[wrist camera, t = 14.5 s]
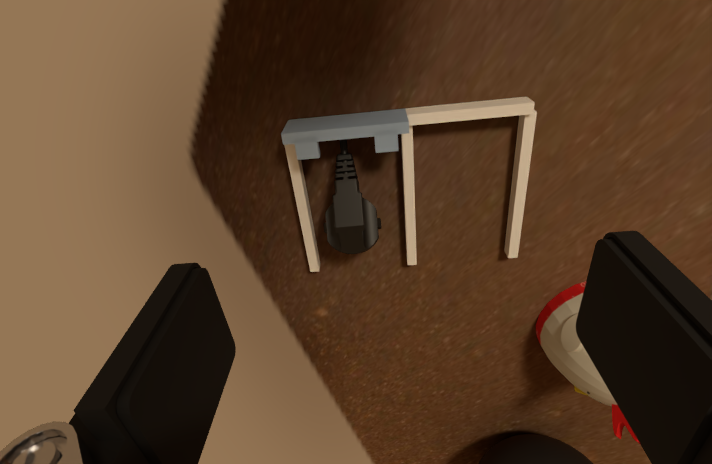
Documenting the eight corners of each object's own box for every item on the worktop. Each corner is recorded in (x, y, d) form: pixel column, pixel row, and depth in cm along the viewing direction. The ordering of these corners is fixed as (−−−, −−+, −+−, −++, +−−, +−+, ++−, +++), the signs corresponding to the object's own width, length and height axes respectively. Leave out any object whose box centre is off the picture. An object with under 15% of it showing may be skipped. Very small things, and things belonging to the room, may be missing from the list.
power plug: (371, 121, 38) (382, 251, 37) (374, 143, 45) (383, 251, 44) (311, 128, 38) (321, 256, 37) (324, 148, 46) (332, 255, 45)
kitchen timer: (513, 323, 52) (560, 435, 39) (611, 257, 46) (704, 364, 34) (575, 371, 57) (636, 485, 44) (672, 317, 51) (773, 431, 38)
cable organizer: (283, 120, 38) (275, 134, 35) (532, 96, 37) (549, 108, 33) (312, 264, 47) (307, 286, 44) (513, 249, 46) (524, 271, 42)
